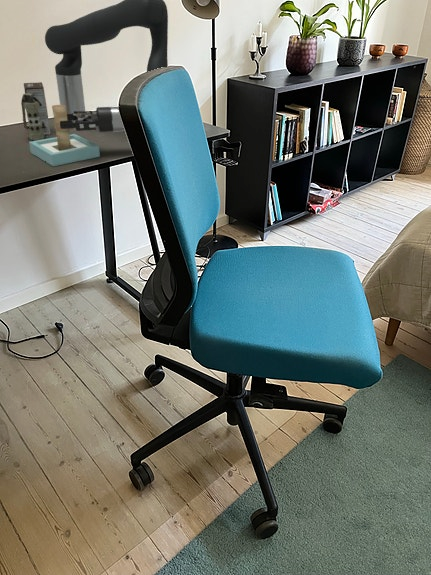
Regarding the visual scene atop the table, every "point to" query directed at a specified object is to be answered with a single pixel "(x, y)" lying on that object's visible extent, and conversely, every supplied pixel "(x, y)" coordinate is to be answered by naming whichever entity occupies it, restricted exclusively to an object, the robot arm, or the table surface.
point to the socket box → (54, 157)
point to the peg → (61, 134)
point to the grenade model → (32, 116)
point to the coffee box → (40, 96)
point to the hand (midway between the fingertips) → (59, 121)
